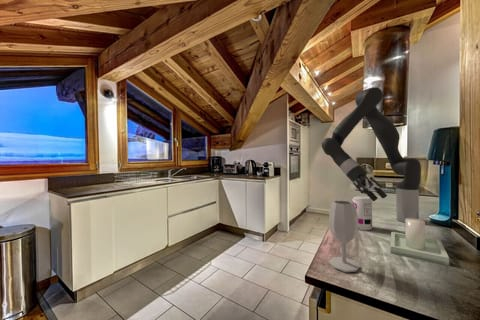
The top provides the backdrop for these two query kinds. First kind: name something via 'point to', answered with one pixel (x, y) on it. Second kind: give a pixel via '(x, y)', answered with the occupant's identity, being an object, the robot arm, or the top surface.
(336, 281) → the top surface
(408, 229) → the white domed cylinder
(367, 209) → the supplement can
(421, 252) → the tray
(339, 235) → the wineglass
